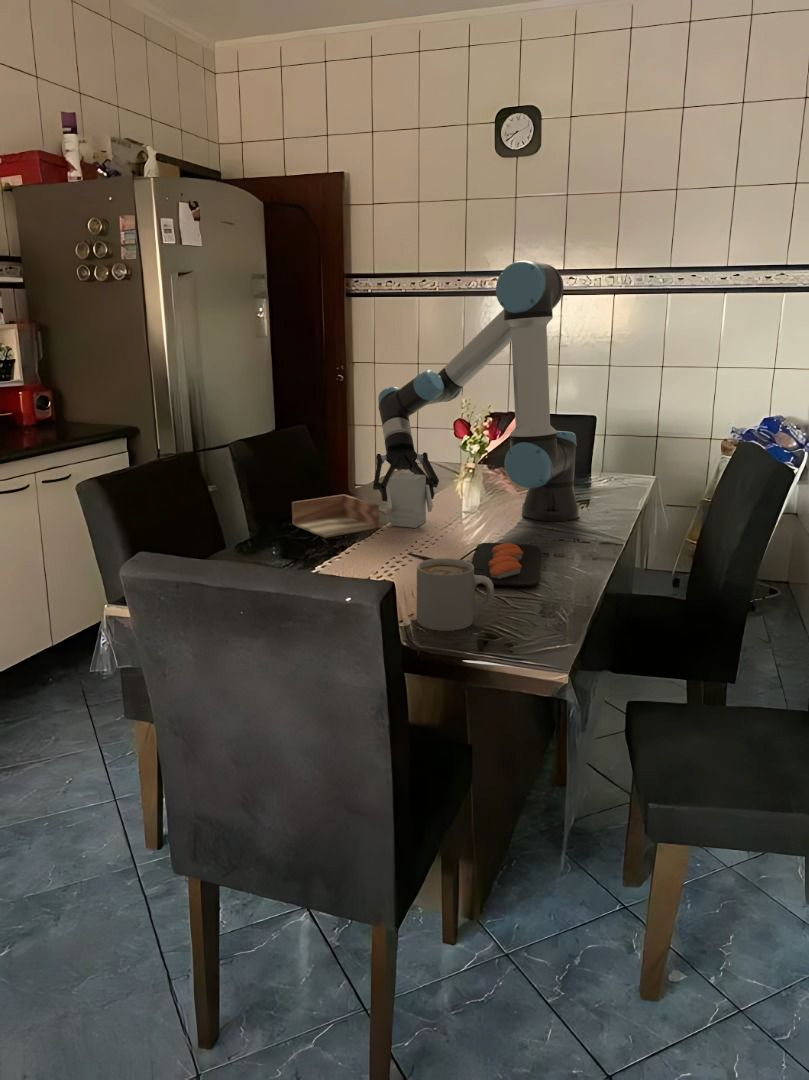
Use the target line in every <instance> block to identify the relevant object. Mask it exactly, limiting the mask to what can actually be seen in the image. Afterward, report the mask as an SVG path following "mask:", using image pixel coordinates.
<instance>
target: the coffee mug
mask: <svg viewBox="0 0 809 1080" xmlns="http://www.w3.org/2000/svg"><path fill="white" fill-rule="evenodd" d="M459 559H460V558H449V557H447V558H446V557H443V558H442V557H440V558H439V557H438V558H434V559H429V560H425V559H424V560H423V561H421V562H419V563H417V565H416V623H417V624H418V625H420V626H421V627H423V628H426V629H429V630H434V631H442V632H443V631H444V632H445V631H446V632H449V631H459V630H462V629H466V628H468V627H470V626H472V624H473V621H474V614H475V613H476V612H477V611H480V610H483V609H485V608H487V607H489V606H490V605H491V603H492V602H493V600H494V596H495V588H494V584H493V583H492V581H491V580H490V579H489V578H488V577H486V576H481V575H474V566H473V565H472V564H471V562H469V561H466V560H464V559H462V560H459ZM479 584H480V585H481V584H482V585H484V586H485V589H486V595H485V597H484V598H483V599H478V598H477V597H476V595H475V591H476V587H477V586H478V585H479Z"/></svg>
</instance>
